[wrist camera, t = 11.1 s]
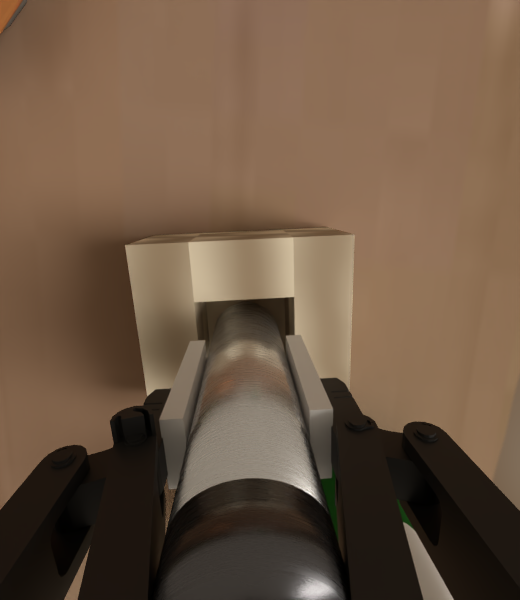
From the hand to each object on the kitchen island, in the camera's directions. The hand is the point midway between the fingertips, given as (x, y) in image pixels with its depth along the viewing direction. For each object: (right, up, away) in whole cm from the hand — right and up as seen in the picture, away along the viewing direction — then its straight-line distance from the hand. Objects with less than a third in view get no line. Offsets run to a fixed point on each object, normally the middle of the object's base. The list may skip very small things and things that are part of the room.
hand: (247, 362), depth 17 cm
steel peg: (0, +1, +4) cm, 4 cm away
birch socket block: (0, +2, +8) cm, 8 cm away
